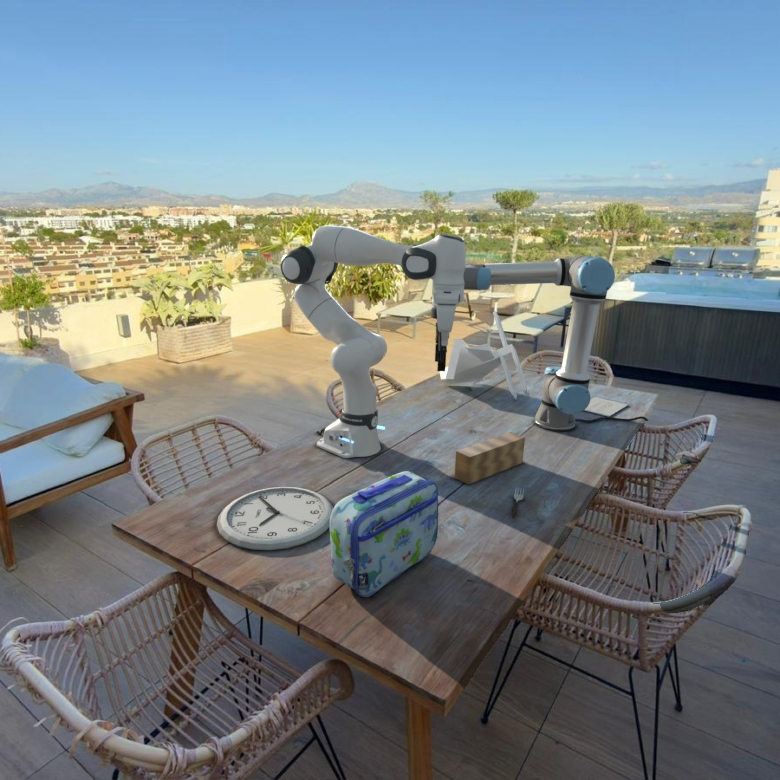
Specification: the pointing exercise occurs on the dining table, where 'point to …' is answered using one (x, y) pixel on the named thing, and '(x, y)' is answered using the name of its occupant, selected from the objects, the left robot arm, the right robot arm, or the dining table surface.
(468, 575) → the dining table surface
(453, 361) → the white plastic object
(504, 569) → the dining table surface
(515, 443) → the bar
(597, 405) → the invitation card
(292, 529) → the wall clock
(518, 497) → the fork
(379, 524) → the lunch box
